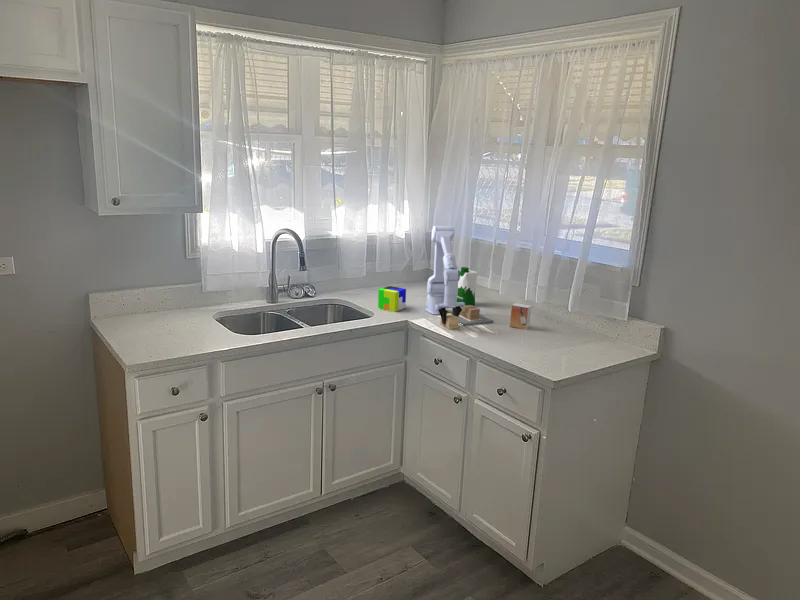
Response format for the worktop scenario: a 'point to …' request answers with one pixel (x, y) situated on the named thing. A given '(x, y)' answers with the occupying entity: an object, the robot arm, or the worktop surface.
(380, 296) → the puzzle toy
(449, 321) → the oak block
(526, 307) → the small box
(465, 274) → the milk carton
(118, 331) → the worktop surface
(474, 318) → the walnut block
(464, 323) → the board
